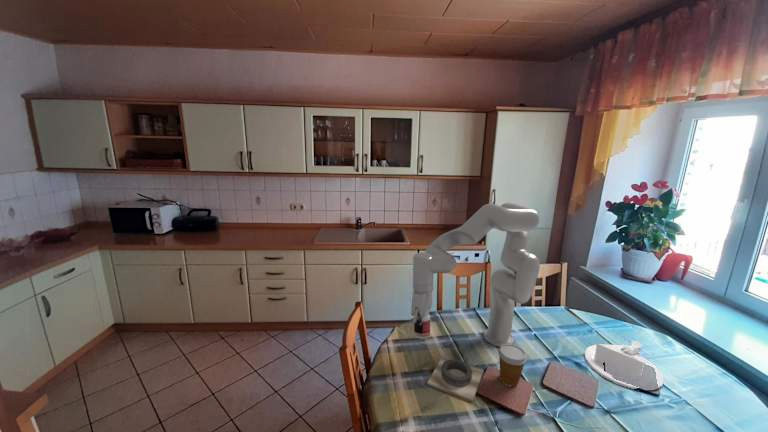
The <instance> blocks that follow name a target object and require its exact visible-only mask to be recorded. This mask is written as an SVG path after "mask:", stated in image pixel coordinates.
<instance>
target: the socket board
mask: <svg viewBox="0 0 768 432" xmlns="http://www.w3.org/2000/svg"><path fill="white" fill-rule="evenodd" d="M483 375H484V370H483V369H481V368H478V367H476V366H472V365H469V364H468V363H466V362H465V361H463V360H460V359H455V358H454V359H452V358H449V357H446V356H441V357H440V360H439V361H438V363H437V365H436V367H435V368H434V370H433V372H432V373H431V375H430V377H429V379H428V381H427V385H428V386H430V387H433V388H435V389H438V390H440V391H442V392H445V393H446V394H447V393H448V394H450V395H452V396H455V397H458V398H460V399H462V400H465V401H467V402H470V403H473V402H474V400H475V396H476V394H477V391H478V389H479V385H480V383H481V380H482V378H483Z"/></svg>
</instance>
